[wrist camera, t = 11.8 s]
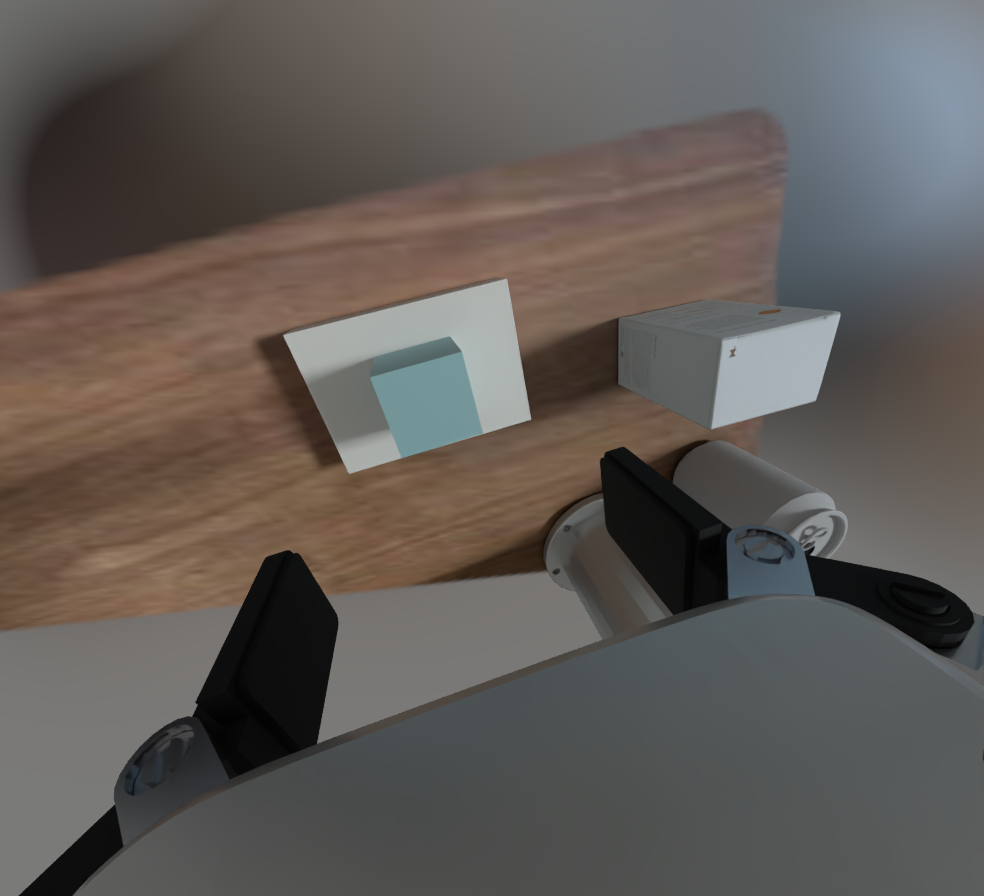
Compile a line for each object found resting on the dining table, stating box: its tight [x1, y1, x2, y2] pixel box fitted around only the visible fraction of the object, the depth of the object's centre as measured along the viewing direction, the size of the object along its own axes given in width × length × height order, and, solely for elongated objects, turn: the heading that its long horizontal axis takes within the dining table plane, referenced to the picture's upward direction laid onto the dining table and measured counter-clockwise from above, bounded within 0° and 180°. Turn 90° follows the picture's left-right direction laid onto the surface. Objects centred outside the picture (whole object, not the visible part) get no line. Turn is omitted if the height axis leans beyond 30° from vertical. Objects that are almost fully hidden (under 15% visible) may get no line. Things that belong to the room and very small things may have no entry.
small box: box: [618, 299, 840, 430], centre depth 26 cm, size 8×6×10 cm
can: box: [673, 440, 848, 559], centre depth 33 cm, size 8×8×12 cm
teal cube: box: [370, 336, 483, 458], centre depth 23 cm, size 5×5×5 cm
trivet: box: [283, 278, 531, 474], centre depth 26 cm, size 14×10×2 cm
